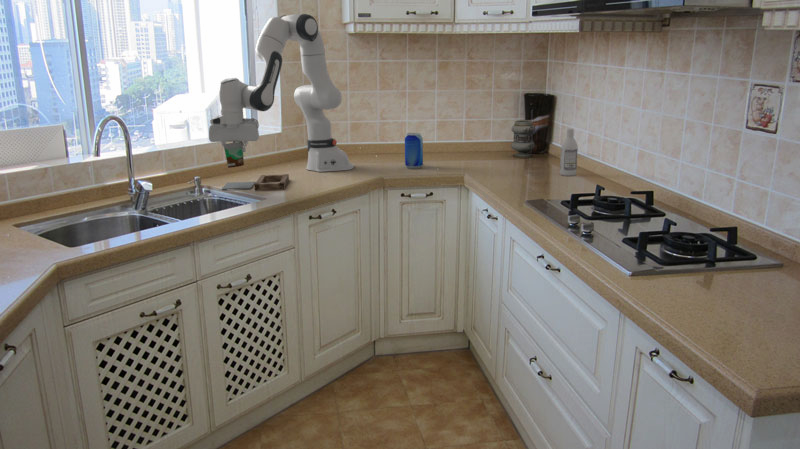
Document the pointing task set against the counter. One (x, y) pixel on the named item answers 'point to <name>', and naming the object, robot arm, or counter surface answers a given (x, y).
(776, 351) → the counter surface
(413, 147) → the beer can
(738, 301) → the counter surface
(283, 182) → the pocket frame
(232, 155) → the food container
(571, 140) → the bath foam
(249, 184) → the mat
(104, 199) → the counter surface
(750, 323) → the counter surface
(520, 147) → the apothecary jar
